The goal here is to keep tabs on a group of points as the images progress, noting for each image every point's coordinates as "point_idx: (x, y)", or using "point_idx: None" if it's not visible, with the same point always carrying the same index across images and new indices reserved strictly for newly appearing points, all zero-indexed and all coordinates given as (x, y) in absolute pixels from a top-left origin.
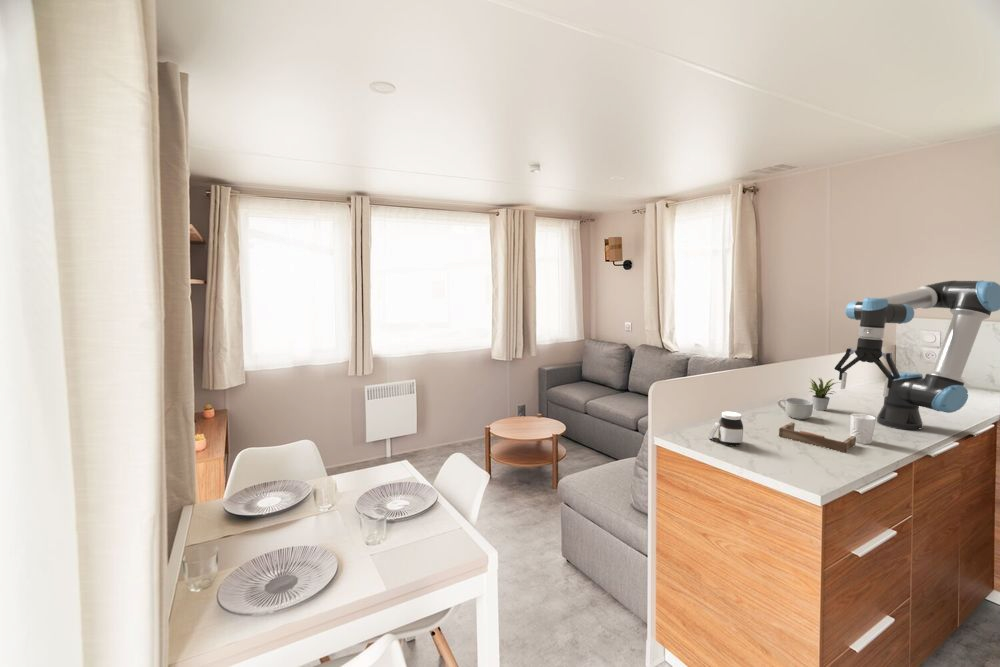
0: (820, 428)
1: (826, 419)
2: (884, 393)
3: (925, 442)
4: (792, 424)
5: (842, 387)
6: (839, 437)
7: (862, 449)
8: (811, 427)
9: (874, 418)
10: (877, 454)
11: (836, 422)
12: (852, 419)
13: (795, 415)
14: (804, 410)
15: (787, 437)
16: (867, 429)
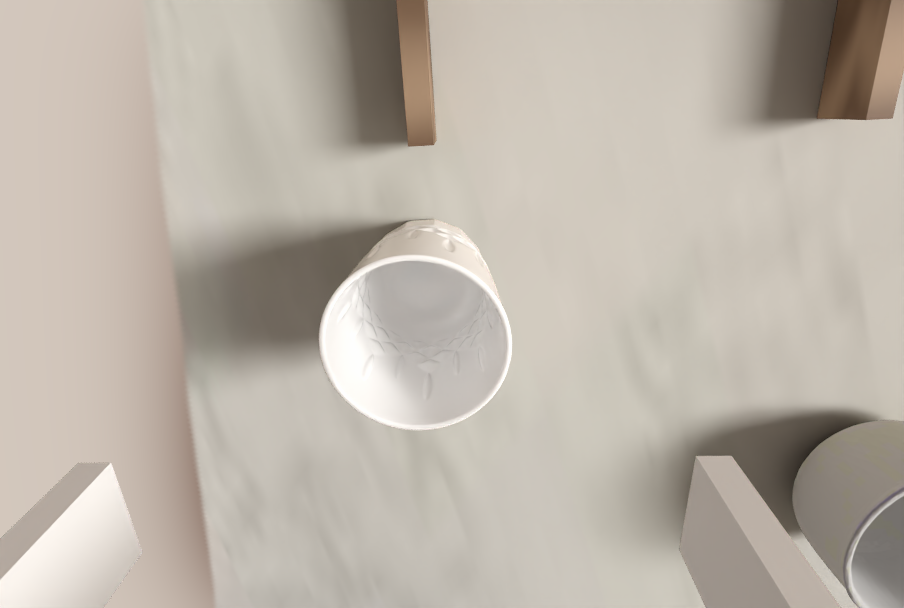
0: (684, 345)
1: None
2: (59, 501)
3: (222, 526)
4: (874, 66)
5: (718, 478)
6: (541, 242)
7: (352, 87)
8: (735, 320)
9: (345, 387)
10: (252, 56)
11: (643, 536)
12: (474, 267)
13: (882, 422)
14: (860, 470)
15: None
16: (364, 256)
